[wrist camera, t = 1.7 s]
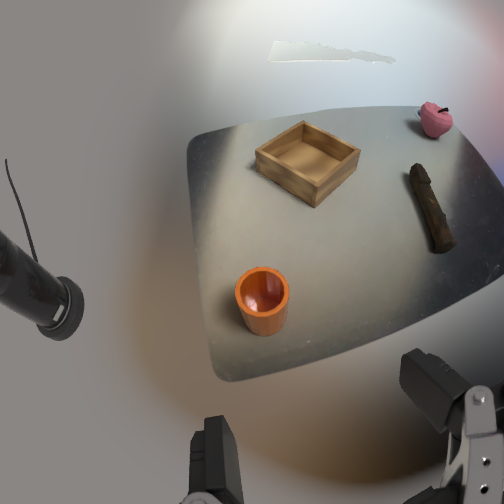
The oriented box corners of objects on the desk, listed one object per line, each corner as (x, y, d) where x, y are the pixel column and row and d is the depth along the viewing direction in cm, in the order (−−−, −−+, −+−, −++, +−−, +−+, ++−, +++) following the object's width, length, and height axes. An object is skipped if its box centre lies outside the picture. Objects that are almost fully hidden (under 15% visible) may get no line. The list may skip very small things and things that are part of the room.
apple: (434, 126, 57) (443, 97, 48) (450, 145, 53) (463, 116, 44) (409, 123, 57) (418, 93, 49) (425, 144, 53) (437, 112, 44)
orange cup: (235, 316, 36) (224, 291, 29) (264, 288, 38) (261, 257, 30) (265, 344, 34) (262, 327, 26) (294, 315, 36) (300, 289, 28)
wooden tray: (256, 170, 50) (254, 149, 46) (301, 139, 54) (302, 120, 50) (314, 208, 45) (317, 187, 40) (355, 170, 49) (360, 150, 44)
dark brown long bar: (449, 254, 38) (462, 240, 34) (432, 254, 38) (445, 239, 34) (419, 175, 47) (427, 159, 43) (403, 174, 48) (410, 157, 44)
